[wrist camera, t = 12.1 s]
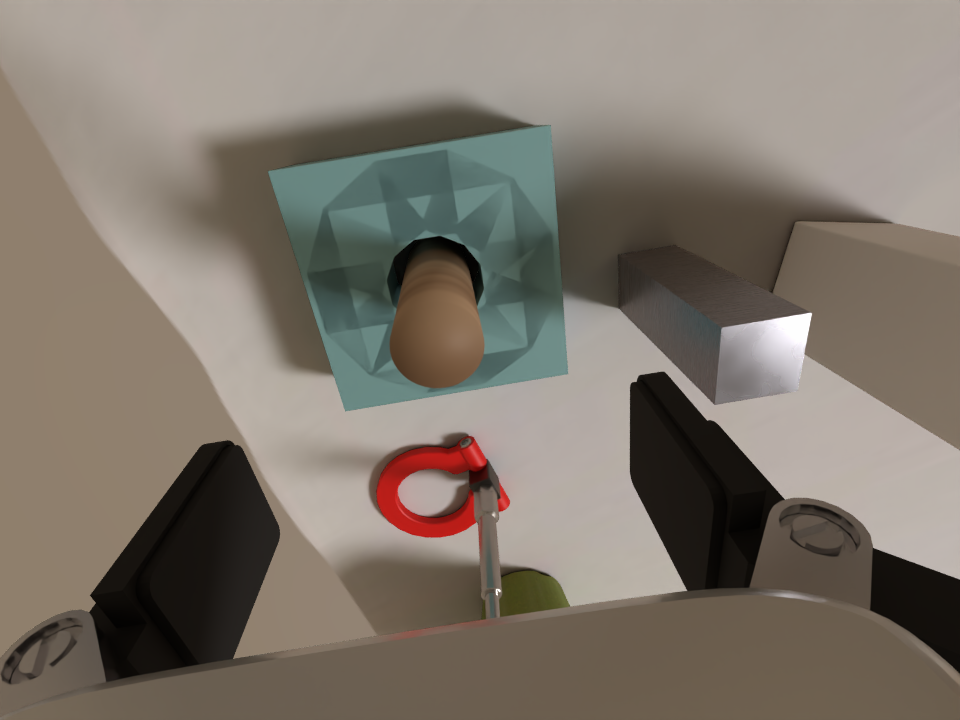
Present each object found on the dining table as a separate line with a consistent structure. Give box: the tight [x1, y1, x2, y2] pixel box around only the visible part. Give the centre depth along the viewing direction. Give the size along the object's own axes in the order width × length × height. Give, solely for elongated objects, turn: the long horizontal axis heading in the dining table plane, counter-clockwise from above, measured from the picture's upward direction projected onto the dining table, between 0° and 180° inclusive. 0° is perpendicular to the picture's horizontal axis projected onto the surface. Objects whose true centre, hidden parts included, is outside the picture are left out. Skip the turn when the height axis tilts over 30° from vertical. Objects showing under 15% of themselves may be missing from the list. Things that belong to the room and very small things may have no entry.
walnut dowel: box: [389, 236, 485, 388], centre depth 23 cm, size 4×4×12 cm
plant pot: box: [481, 571, 570, 620], centre depth 38 cm, size 12×12×11 cm
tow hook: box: [376, 436, 510, 619], centre depth 31 cm, size 8×13×9 cm
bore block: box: [268, 125, 568, 411], centre depth 27 cm, size 13×13×4 cm
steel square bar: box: [618, 245, 812, 405], centre depth 25 cm, size 4×4×12 cm
